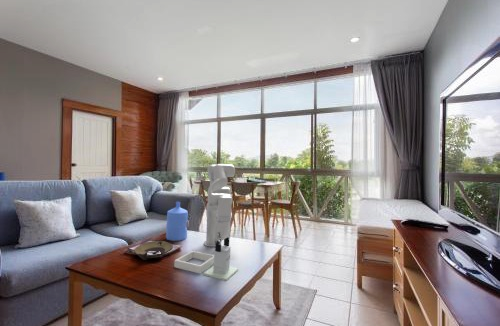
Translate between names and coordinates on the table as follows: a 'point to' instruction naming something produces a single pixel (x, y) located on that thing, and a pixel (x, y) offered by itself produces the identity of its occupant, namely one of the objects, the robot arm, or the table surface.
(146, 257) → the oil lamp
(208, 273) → the pad
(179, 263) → the bin
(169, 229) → the water jug
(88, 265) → the table surface
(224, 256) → the supplement box
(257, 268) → the table surface
